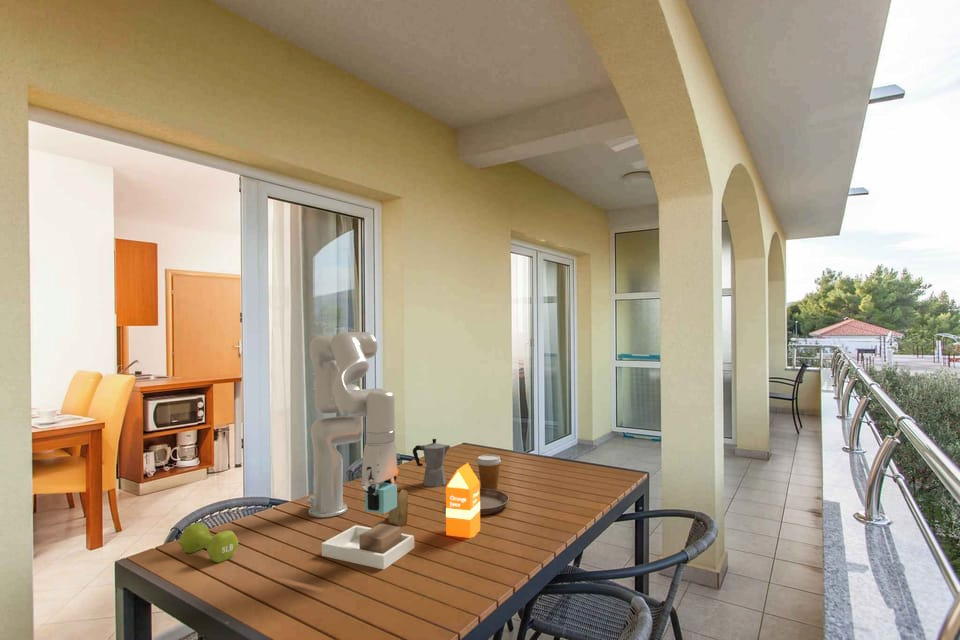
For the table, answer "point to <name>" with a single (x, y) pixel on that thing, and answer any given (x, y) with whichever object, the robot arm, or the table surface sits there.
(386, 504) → the teal box
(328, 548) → the white tray
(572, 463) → the table surface
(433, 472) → the coffeepot
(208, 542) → the dumbbell
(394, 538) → the walnut block
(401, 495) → the rock
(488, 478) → the disposable coffee cup
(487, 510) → the plant saucer
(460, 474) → the orange juice
